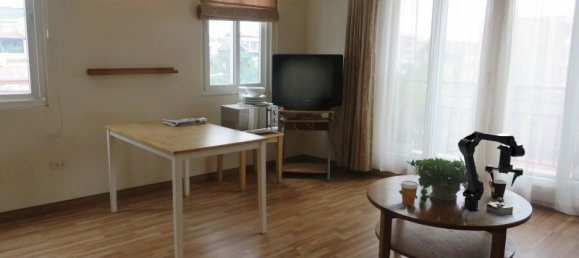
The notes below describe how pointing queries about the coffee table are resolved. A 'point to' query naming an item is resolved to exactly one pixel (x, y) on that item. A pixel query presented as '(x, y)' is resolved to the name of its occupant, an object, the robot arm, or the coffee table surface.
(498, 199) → the plunger
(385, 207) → the coffee table surface
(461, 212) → the coffee table surface
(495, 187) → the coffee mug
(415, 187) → the beer cup
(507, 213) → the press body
